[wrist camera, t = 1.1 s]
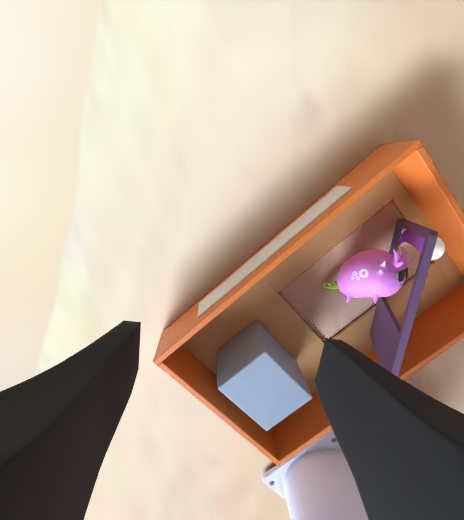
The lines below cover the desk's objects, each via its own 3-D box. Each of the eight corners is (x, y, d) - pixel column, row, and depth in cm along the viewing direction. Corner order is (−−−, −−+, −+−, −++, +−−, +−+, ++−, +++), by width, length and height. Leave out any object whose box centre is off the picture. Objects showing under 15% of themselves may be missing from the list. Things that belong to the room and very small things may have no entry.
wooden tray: (471, 280, 22) (518, 300, 19) (269, 426, 25) (278, 466, 22) (382, 141, 19) (420, 135, 15) (160, 331, 22) (151, 361, 18)
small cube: (296, 360, 23) (313, 398, 19) (257, 389, 23) (266, 432, 20) (256, 318, 22) (265, 350, 18) (216, 351, 22) (216, 388, 18)
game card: (408, 395, 16) (457, 234, 14) (311, 370, 17) (340, 220, 15) (385, 337, 22) (415, 219, 20) (315, 322, 24) (335, 210, 21)
